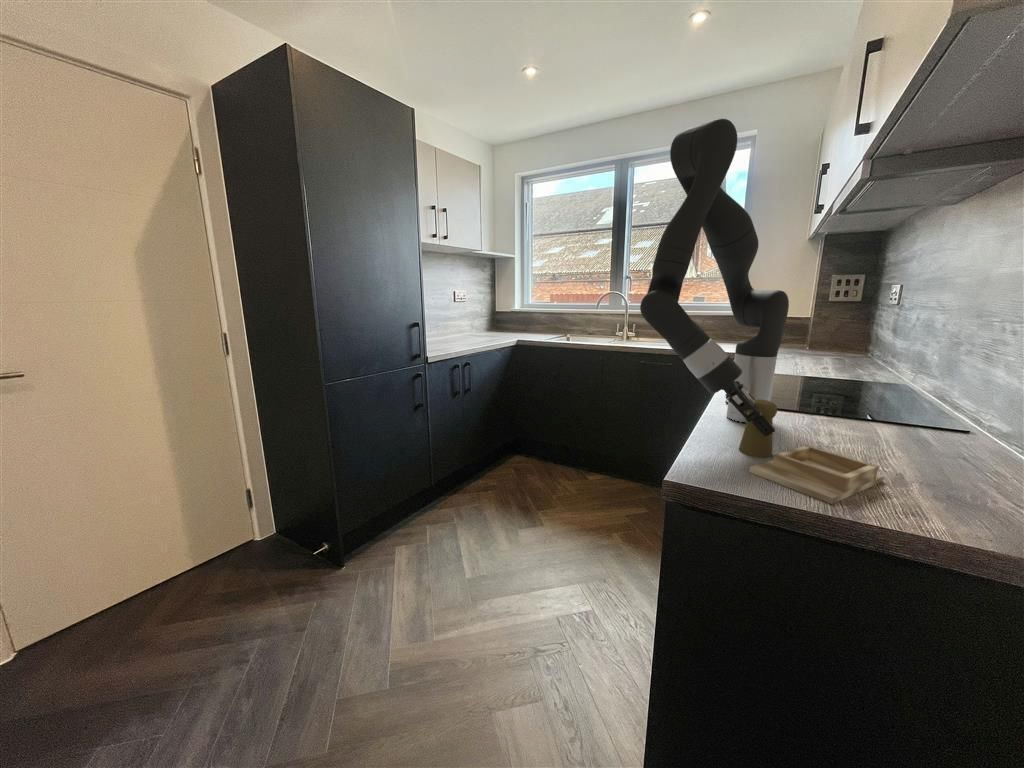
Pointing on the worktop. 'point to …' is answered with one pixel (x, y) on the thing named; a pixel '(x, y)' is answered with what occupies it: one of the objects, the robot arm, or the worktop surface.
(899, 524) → the worktop surface
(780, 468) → the stand
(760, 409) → the cork
